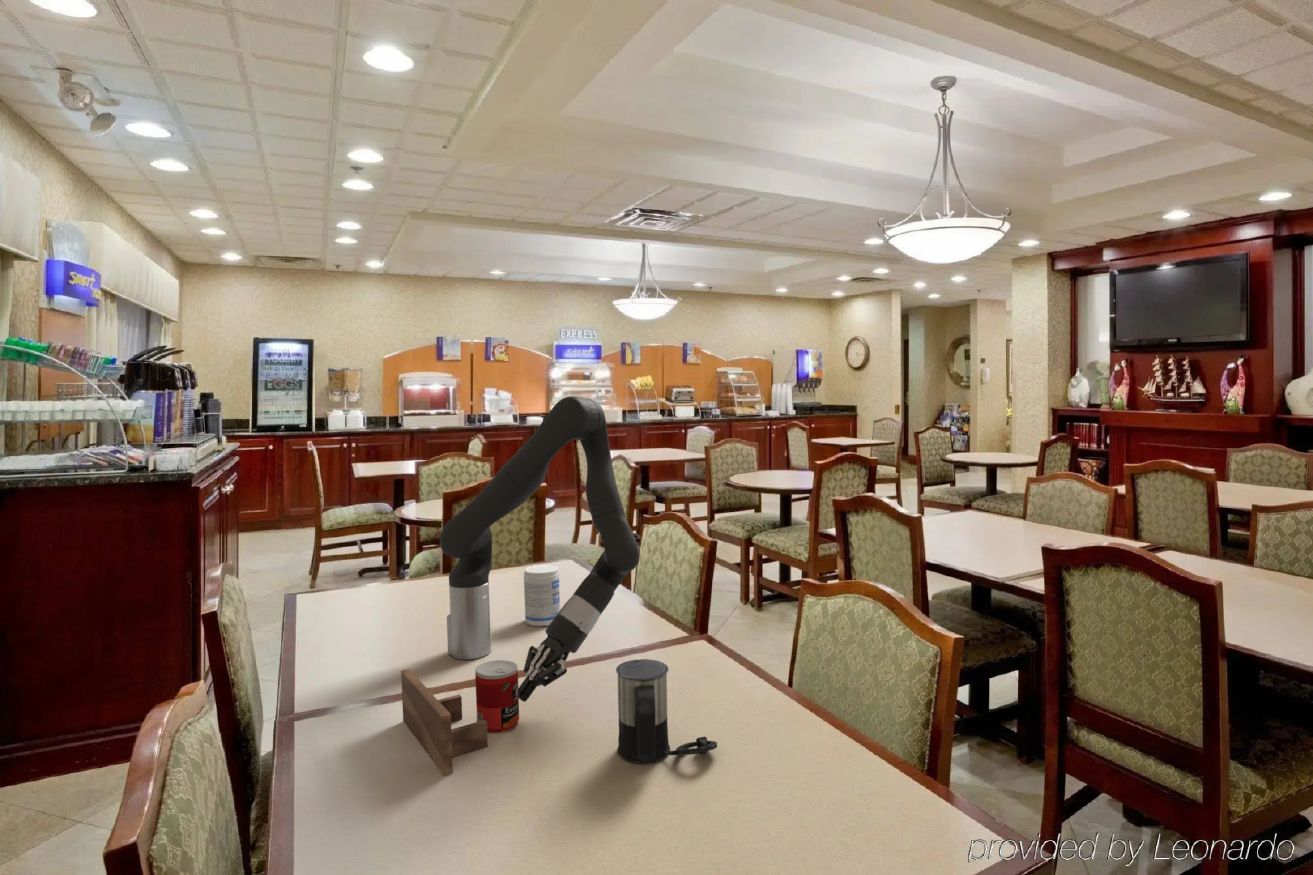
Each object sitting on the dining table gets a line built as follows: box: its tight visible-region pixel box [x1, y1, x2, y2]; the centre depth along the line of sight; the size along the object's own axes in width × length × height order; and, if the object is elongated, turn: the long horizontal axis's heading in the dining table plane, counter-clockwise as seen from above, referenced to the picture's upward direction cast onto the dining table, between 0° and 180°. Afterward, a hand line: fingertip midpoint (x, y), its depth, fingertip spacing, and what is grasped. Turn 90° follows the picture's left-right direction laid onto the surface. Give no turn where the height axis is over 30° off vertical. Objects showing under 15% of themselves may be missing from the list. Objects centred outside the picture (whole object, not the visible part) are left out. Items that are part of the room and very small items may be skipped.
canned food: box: [474, 659, 520, 734], centre depth 134 cm, size 8×8×11 cm
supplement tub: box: [523, 564, 561, 627], centre depth 194 cm, size 10×10×15 cm
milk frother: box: [615, 658, 718, 764], centre depth 122 cm, size 14×16×15 cm
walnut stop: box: [400, 668, 489, 776], centre depth 129 cm, size 10×24×10 cm, turn 35°
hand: (519, 698), depth 137 cm, fingers closed
